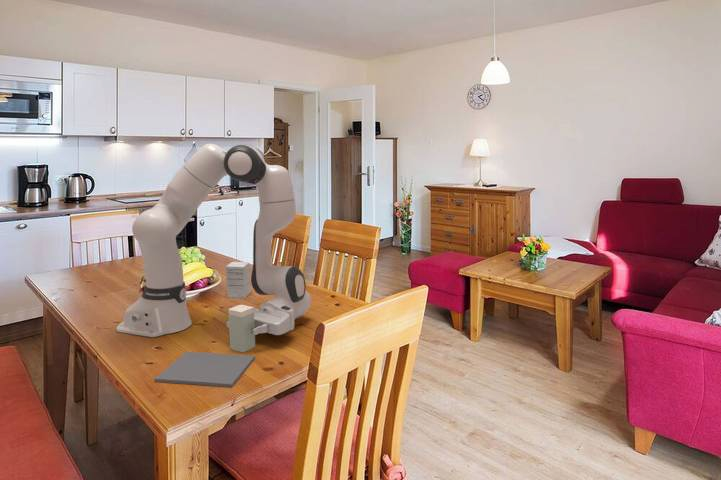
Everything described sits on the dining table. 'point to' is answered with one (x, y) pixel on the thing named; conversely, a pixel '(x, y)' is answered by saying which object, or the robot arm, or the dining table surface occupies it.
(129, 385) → the dining table surface
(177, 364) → the rubber mat
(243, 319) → the sage block
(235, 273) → the supplement box
